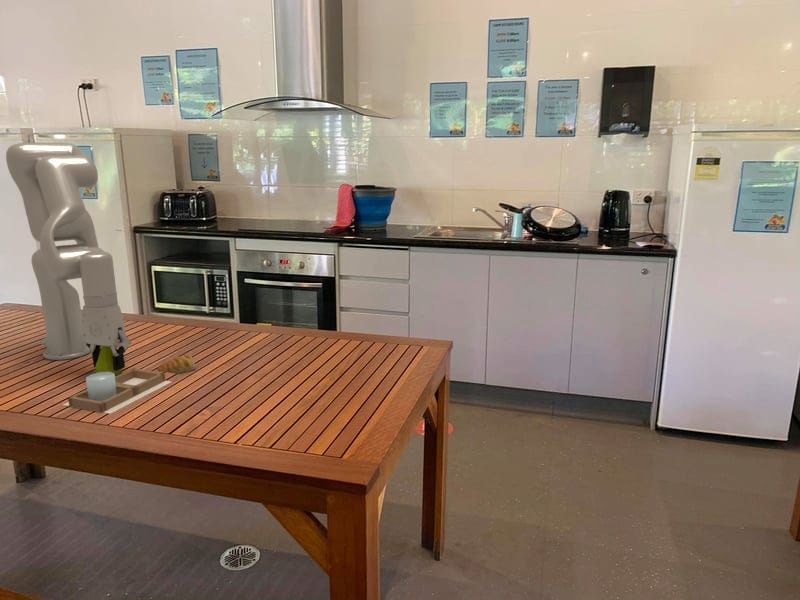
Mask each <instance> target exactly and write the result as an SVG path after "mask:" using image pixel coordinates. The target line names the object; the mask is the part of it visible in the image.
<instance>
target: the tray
mask: <svg viewBox="0 0 800 600" xmlns="http://www.w3.org/2000/svg"><path fill="white" fill-rule="evenodd" d="M165 373H166V372H160V371H152V370H146V369H140V368H132V369H129V370H126V371H125V372H121V374H119V375H116V376H115V381H116V390H117V395H115V396H113V397H110V398H108V399H106V400H104V401H96V400H91V399H88V391H87V388H86V389H84V390H83V391H80V392H77V393H75V394H73V395H71V396H69V397H67V400H68V401H67V402H66V403H63V404H62V406H67V407H72V408H79V409H84V410H88V411H93V412H98V413H99V412H100V413H106V414H113V413H114V412H116V411H118V410H120V409H122V408H124V407H126V406H128V405H130V404H132V403H133V402H136V401H138V400H139V399H142V398H144V397H146V396H147V395H150V394H152V393H153V392H155V391H157V390H158V389H159V390H160V389H161V388H163V387H164V386H167V385H169V384H171V383H172V380H171V381H170V380H166V374H165Z"/></svg>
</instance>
